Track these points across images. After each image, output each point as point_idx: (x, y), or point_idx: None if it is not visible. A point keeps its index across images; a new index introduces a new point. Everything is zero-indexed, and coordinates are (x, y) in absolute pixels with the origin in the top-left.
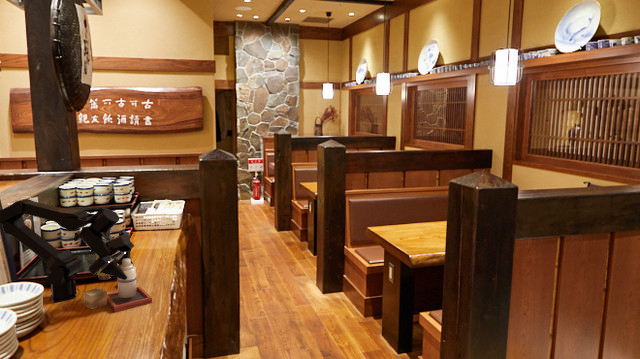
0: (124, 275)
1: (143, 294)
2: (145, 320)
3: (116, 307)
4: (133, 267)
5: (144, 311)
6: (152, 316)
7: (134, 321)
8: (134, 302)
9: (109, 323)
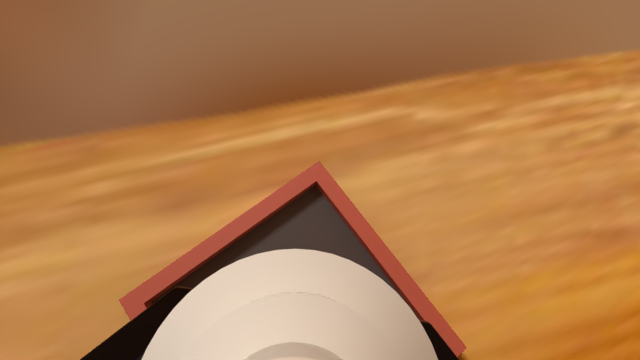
0: (455, 357)
1: (240, 237)
2: (508, 147)
3: (456, 336)
4: (245, 298)
5: (419, 179)
6: (466, 127)
7: (526, 193)
8: (384, 244)
9: (569, 313)
